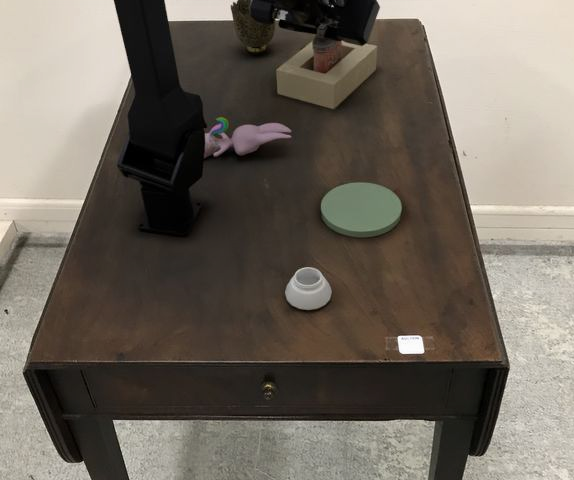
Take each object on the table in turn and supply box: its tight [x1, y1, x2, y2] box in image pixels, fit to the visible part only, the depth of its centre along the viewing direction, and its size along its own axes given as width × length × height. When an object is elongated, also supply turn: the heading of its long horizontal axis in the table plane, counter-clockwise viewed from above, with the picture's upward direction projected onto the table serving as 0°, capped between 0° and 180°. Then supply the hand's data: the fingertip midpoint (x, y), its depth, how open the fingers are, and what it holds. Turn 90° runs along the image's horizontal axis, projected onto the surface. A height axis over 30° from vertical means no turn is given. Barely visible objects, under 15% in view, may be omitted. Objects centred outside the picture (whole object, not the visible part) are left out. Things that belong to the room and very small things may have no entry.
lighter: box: [311, 24, 342, 74], centre depth 107 cm, size 8×3×10 cm, turn 157°
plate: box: [320, 181, 403, 238], centre depth 87 cm, size 10×10×1 cm
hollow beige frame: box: [275, 40, 378, 110], centre depth 109 cm, size 14×11×4 cm
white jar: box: [284, 266, 333, 311], centre depth 76 cm, size 5×3×5 cm
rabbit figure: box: [204, 116, 292, 159], centre depth 95 cm, size 6×6×15 cm
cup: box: [230, 0, 277, 56], centre depth 116 cm, size 8×7×8 cm
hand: (332, 34), depth 106 cm, fingers closed on lighter, 3 cm apart
